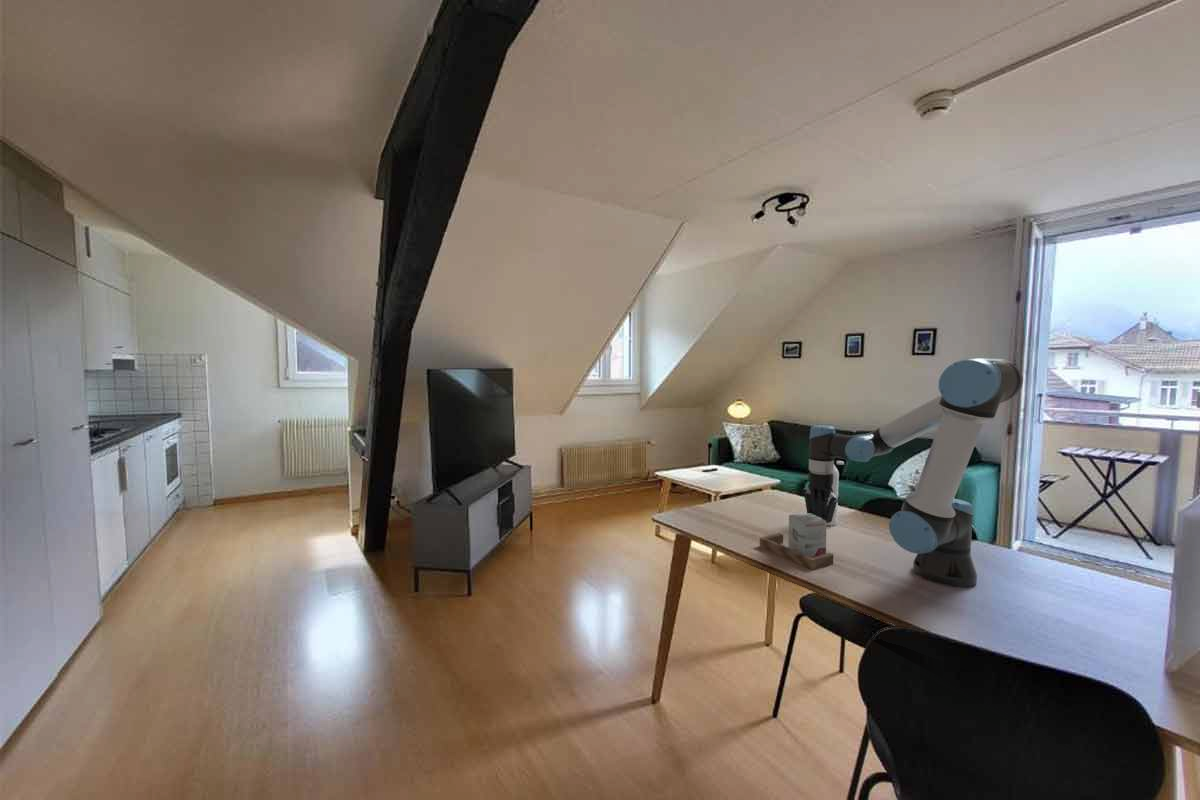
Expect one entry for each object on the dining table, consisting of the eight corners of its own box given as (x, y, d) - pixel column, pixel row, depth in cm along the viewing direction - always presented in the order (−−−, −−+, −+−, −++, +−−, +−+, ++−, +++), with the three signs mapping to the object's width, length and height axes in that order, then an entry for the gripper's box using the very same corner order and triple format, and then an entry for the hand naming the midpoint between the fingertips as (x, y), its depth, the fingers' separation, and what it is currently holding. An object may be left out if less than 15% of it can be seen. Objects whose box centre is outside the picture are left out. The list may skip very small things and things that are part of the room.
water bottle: (815, 522, 187) (817, 459, 184) (825, 519, 190) (827, 457, 188) (835, 528, 179) (837, 463, 177) (846, 525, 182) (848, 461, 180)
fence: (833, 563, 148) (833, 554, 148) (812, 570, 144) (812, 560, 144) (779, 541, 167) (779, 533, 167) (759, 546, 163) (759, 537, 162)
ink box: (810, 546, 163) (811, 512, 162) (826, 556, 154) (827, 520, 153) (787, 547, 161) (788, 513, 160) (802, 558, 153) (803, 522, 152)
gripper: (846, 474, 155) (843, 545, 157) (812, 466, 166) (810, 532, 168) (830, 477, 151) (828, 549, 153) (796, 469, 163) (794, 536, 165)
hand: (818, 540), depth 161 cm, fingers closed
